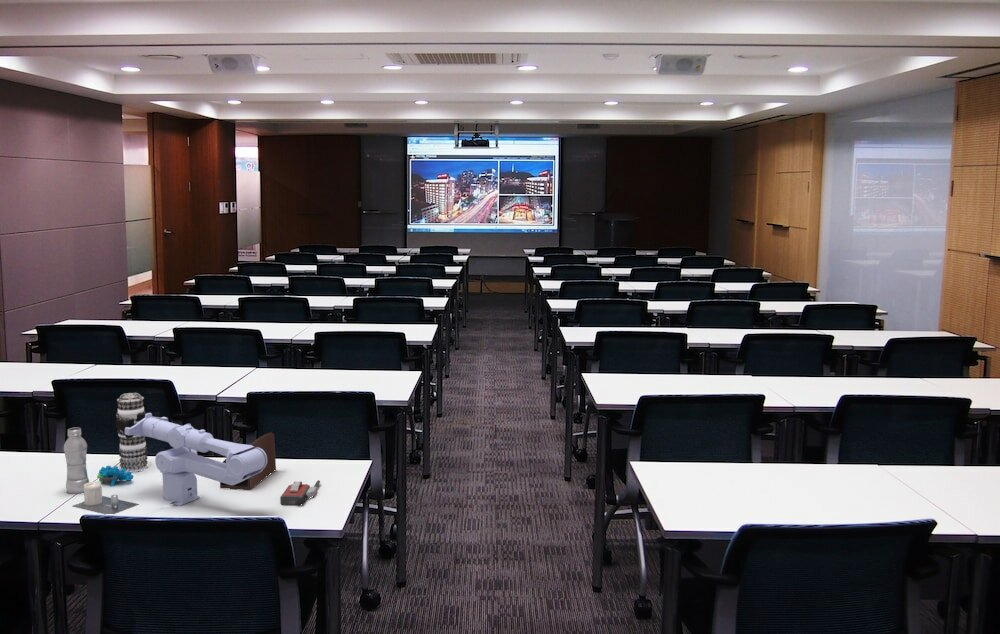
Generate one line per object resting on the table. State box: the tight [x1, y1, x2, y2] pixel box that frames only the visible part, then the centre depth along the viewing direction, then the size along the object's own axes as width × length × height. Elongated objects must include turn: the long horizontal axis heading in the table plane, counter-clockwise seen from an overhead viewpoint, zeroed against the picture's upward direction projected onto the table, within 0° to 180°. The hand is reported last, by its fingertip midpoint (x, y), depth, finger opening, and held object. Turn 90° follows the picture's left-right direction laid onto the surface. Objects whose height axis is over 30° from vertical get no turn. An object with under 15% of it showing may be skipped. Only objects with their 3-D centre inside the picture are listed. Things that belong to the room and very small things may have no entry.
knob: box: [83, 481, 103, 505], centre depth 255 cm, size 4×4×6 cm
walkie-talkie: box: [279, 480, 321, 506], centre depth 265 cm, size 9×4×20 cm
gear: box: [96, 465, 134, 487], centre depth 271 cm, size 11×6×10 cm
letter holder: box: [219, 432, 277, 491], centre depth 279 cm, size 10×20×14 cm, turn 171°
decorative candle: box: [115, 392, 149, 473], centre depth 288 cm, size 9×9×25 cm
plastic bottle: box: [63, 427, 90, 495], centre depth 264 cm, size 6×7×20 cm
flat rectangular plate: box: [71, 494, 140, 515], centre depth 253 cm, size 16×10×4 cm, turn 63°
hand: (127, 420), depth 267 cm, fingers open, 7 cm apart
